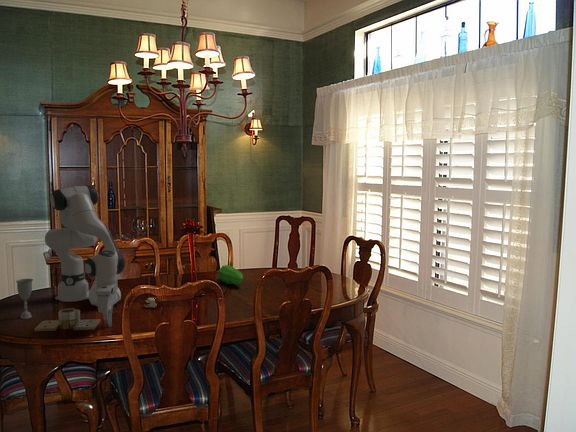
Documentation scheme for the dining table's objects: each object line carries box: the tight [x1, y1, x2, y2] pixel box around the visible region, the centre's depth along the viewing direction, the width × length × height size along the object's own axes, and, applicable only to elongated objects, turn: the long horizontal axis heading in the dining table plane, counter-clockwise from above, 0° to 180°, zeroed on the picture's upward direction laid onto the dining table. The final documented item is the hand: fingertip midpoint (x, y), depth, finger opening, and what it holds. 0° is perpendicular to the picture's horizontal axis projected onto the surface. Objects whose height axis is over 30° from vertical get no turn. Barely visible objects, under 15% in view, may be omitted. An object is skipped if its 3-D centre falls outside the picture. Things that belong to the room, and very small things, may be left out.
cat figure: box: [143, 297, 158, 309], centre depth 262 cm, size 10×9×25 cm
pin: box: [104, 307, 113, 328], centre depth 227 cm, size 3×3×10 cm
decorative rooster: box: [88, 277, 122, 307], centre depth 262 cm, size 25×16×25 cm, turn 19°
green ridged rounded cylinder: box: [218, 264, 244, 285], centre depth 307 cm, size 11×12×30 cm
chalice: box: [15, 278, 34, 320], centre depth 238 cm, size 7×7×18 cm
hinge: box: [33, 307, 101, 332], centre depth 226 cm, size 11×25×7 cm, turn 97°
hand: (108, 316), depth 227 cm, fingers open, 7 cm apart
